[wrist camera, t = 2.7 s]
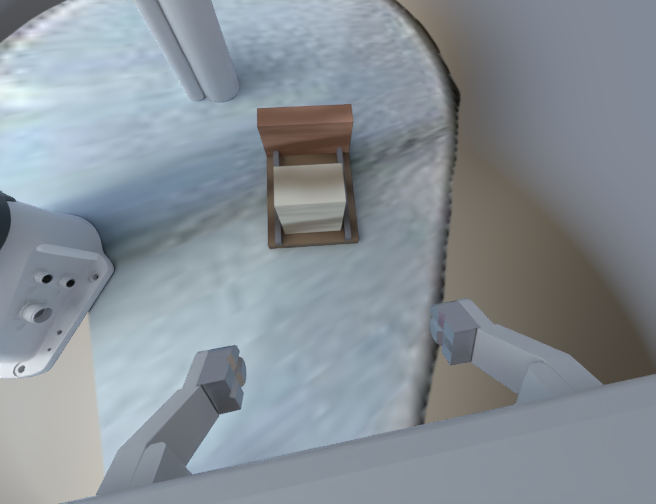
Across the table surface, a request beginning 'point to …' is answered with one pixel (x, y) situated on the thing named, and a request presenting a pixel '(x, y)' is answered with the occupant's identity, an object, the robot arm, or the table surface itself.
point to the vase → (192, 46)
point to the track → (308, 162)
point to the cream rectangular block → (309, 197)
